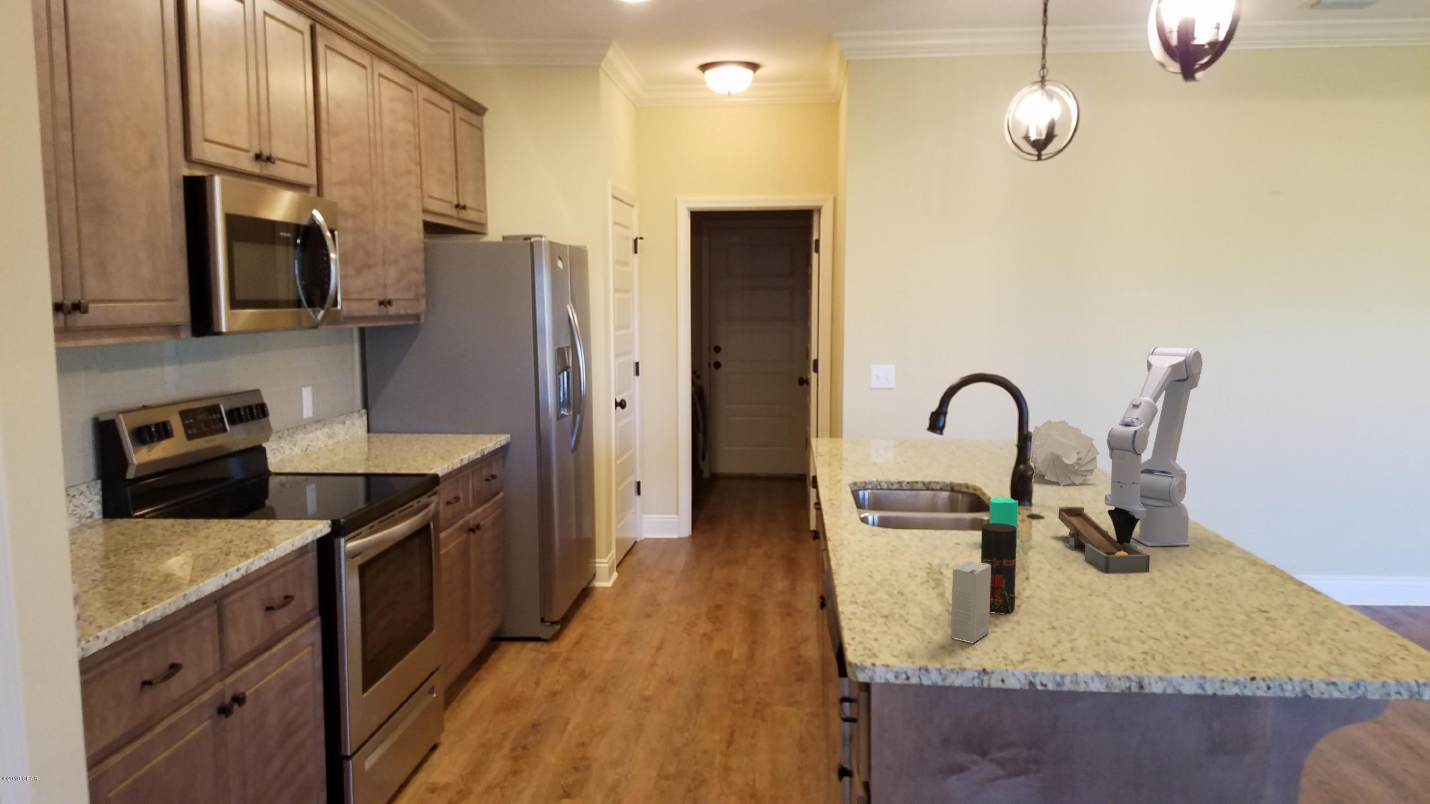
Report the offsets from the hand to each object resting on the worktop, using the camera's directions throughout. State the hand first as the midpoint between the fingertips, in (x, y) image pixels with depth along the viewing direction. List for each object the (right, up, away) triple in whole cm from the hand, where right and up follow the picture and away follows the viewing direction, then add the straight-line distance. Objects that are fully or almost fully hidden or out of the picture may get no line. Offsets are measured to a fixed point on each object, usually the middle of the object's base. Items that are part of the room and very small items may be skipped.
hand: (1123, 543), depth 194 cm
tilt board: (-3, +1, +6) cm, 7 cm away
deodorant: (-37, -7, -31) cm, 49 cm away
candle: (-23, -2, +9) cm, 25 cm away
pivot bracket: (-5, -2, +6) cm, 8 cm away
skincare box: (-46, -9, -45) cm, 64 cm away
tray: (-5, -3, -7) cm, 9 cm away
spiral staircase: (+16, +7, +79) cm, 80 cm away
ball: (-5, -2, -10) cm, 11 cm away
